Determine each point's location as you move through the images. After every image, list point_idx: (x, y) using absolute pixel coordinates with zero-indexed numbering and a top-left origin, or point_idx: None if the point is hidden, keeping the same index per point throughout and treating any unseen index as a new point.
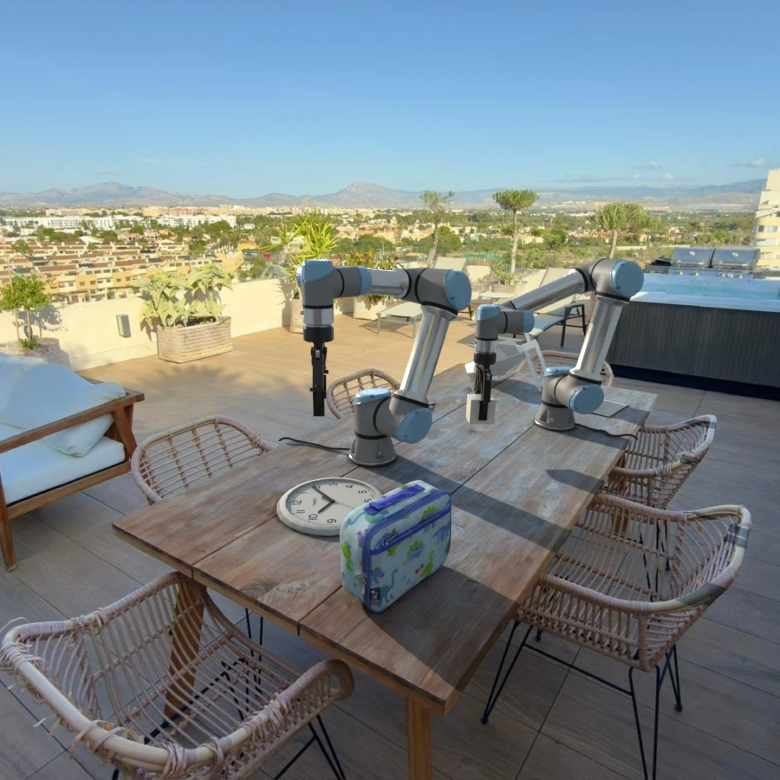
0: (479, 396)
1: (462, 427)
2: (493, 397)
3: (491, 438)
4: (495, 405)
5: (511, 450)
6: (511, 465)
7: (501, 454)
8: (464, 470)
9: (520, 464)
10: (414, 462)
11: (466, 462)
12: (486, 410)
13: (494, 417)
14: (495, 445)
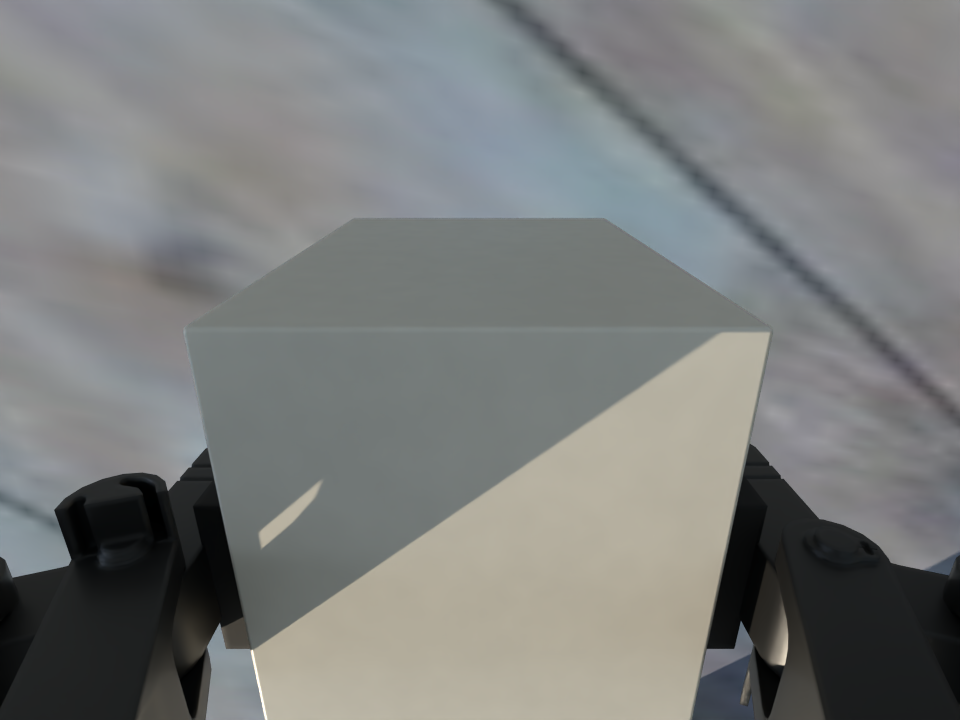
0: (455, 655)
1: (106, 336)
2: (549, 354)
3: (330, 132)
4: (704, 286)
5: (612, 3)
6: (908, 103)
7: (684, 132)
8: (879, 457)
9: (915, 8)
10: (708, 674)
11: (770, 425)
12: (756, 452)
13: (628, 235)
14: (491, 136)
